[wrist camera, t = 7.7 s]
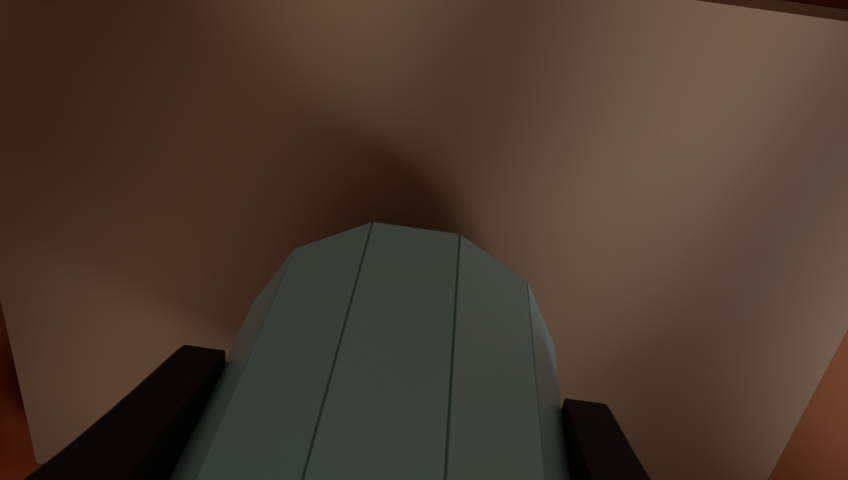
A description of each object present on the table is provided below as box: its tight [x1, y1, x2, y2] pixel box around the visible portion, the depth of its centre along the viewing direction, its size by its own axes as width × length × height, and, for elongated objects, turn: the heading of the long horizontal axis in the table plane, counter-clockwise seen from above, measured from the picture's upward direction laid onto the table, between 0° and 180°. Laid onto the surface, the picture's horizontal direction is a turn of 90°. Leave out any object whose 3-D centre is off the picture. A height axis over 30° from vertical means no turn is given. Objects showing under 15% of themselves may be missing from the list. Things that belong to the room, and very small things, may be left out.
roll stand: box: [0, 0, 848, 480], centre depth 12 cm, size 16×12×5 cm
